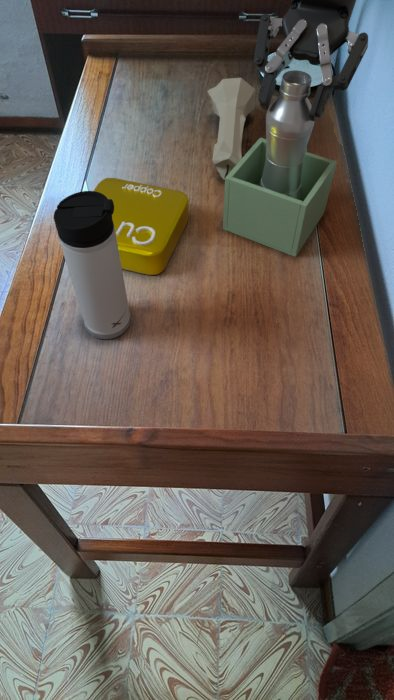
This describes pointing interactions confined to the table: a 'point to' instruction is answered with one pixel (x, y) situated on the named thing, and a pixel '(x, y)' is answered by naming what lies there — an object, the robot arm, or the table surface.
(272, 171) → the silver metal bottle
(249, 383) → the table surface
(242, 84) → the faceted club
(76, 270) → the travel mug
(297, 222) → the caddy
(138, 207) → the element tile
